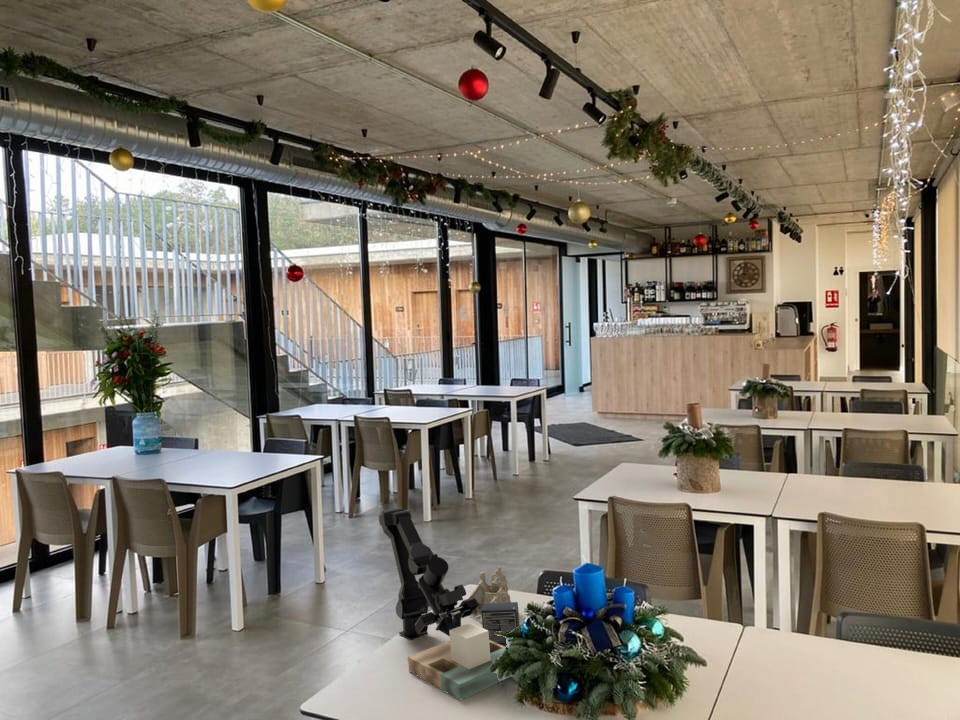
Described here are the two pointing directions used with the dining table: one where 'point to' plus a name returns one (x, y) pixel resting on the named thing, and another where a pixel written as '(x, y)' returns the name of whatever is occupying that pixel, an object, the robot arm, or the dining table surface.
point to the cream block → (469, 645)
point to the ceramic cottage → (490, 592)
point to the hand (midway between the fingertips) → (461, 642)
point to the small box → (499, 619)
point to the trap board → (454, 670)
